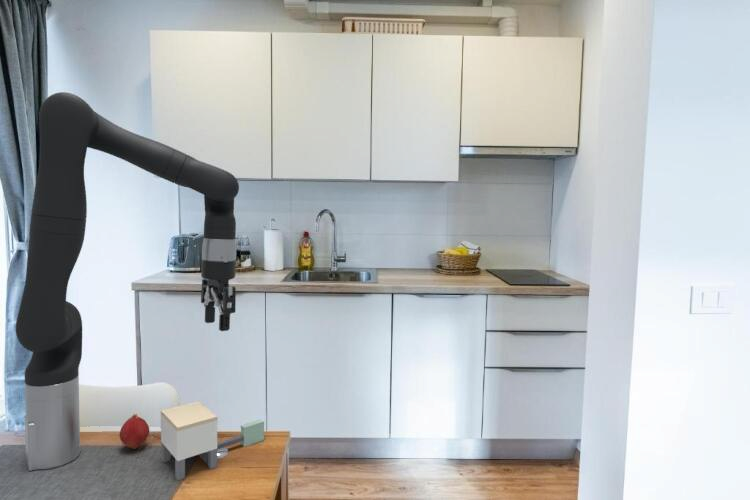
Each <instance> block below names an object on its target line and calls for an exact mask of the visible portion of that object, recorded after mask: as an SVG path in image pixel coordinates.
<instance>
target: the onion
mask: <svg viewBox="0 0 750 500" xmlns="http://www.w3.org/2000/svg"><path fill="white" fill-rule="evenodd" d="M149 435H150V427H149V424H148V423H147V421H146V420H145V419H144V418H142V417H140V416H138V413H133V414H132V416H131V417H129V418H128V419H126V421H125V422H124V423H123V425H122V426H121V428H120V431H119V440H120V441H121V443H122V444H123V446H126V447H128V448H131V449H132V450H137V449H138V448H139V447H140V446H141V445H142V444H143V443H144V442H145V441H146V440H147V439H148V437H149Z"/></svg>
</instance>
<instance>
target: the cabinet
mask: <svg viewBox="0 0 750 500" xmlns="http://www.w3.org/2000/svg"><path fill="white" fill-rule="evenodd" d="M160 442H161V443H160V447H161V449H160V456H161V458H160V460H161V461H162V462H163V463H166V462H169V461H171V455H172V456H173V457H174V459H175V460H174V469H175V472H174V474H175V475H174V478H175V480H177V482H179V481H181V480H184V479H185V478H186V459H188V458H192V457H195V456H199V455H198V454H201V453H205V452H208V464H207V467H208V468H209V469H210V470H213V469H216V468H217V467H218V459H217V442H218V416H217V414H215V413H214V412H212V411H211V410H210V409H209V408H208V407H206V406H205V404H203V403H201V402H200V400H199V401H194V402H190V403H186V404H182V405H178V406H177V405H176V406H173V407H170V408H165V409H161V410H160Z"/></svg>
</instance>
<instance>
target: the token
mask: <svg viewBox="0 0 750 500" xmlns="http://www.w3.org/2000/svg"><path fill="white" fill-rule="evenodd" d="M228 454H229V449H228V448H227V447H224V448H221V449H218V450H217V460H219V459H221V460H222V459H223V458H226V457H227V456H228Z"/></svg>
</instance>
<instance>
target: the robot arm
mask: <svg viewBox="0 0 750 500" xmlns="http://www.w3.org/2000/svg"><path fill="white" fill-rule="evenodd" d="M38 121H39V125H38V126H39V165H38V169H37V170H38V171H37V176H36V181H35V186H34V192H33V200H32V206H31V212H30V214H31V215H30V223H29V237H28V248H27V249H28V250H27V258H26V273H25V281H24V287H23V292H22V297H21V301H20V305H19V307H18V308H19V309H18V313H17V317H16V323H15V334H16V338H17V340H18V342H19V344H20V345H21V346H22V347H23V348H24V349H25V350H27V351H29V352H31V354H32V355H31V358H30V361H29V362H28V364H27V366H26V367H25V370H24V397H25V398H24V400H25V402H24V403H25V414H24V435H25V436H24V437H25V440H24V441H25V444H24V446H25V460H26V464H27V465H26V466H27V469H28V471H29V472H30V471H35V470H47V469H53V468H57V467H60V466H63V465H66V464H68V463H70V462H72V461H74V460H75V459H77V458H78V457H79V455H80V454H81V428H80V425H81V423H80V417H81V416H80V386H79V385H80V380H79V379H80V378H79V377H80V375H79V373H80V372H79V367H80V364H81V361H82V357H83V356H82V355H83V320H82V316H81V315H82V314H81V313H80V311H79V309H78V308H77V306H75V305H74V304H73V303H71V302H69V301H67V292H68V285H69V281H70V278H71V275H72V273H73V270H74V267H75V266H76V263H77V261H78V258H79V256H80V254H81V251H82V248H83V244H84V240H85V236H86V225H87V216H88V215H87V214H88V212H87V211H88V210H87V209H88V207H87V205H88V203H87V191H86V184H85V183H86V181H85V162H86V156H87V151H88V148H89V149H92V150H97V151H100V152H102V153H105V154H109V155H111V156H113V157H116V158H119V159H121V160H123V161H125V162H127V163H130V164H131V165H134V166H136V167H137V168H140V169H142V170H144V171H146V172H147V173H150V174H152V175H154V176H157V177H159V178H161V179H163V180H166V181H168V182H170V183H172V184H174V185H176V186H177V185H178V186H181V187H183V188H189V189H191V190H192V191H193V190H194V191H195V192H198V193H199V194H202V195H203V199H204V202H203V203H204V213H205V214H204V220H203V221H204V222H203V241H202V245H201V246H202V247H201V271H200V272H201V278H202V280H201V292H200V293H201V295H200V296H201V297H200V303H201V304H203V307H204V323H206V324H212V323H215V321H216V307H217V309H218V311H219V315H218V316H219V317H218V319H219V320H218V322H219V323H218V324H219V325H218V331H221V332H225V331H229V330H230V329H231V328H230V327H231V326H230V325H231V324H230V323H231V321H230V320H231V314H235V313H236V303H237V302H236V300H237V299H236V295H237V294H236V291H237V290H236V286H230V283H229V281H230V280H233V279H235V278H236V262H237V261H236V260H237V259H236V258H237V246H236V245H237V244H236V243H237V242H236V231H237V229H236V228H237V224H236V217H235V213H234V212H235V198H236V197H237V195H239V194H238V193H239V191H240V185H239V181H238V179H237V178H236V176H235V175H234V174H232V173H231V172H229V171H227V170H225V169H222V168H221V167H220V168H219V167H218V166H215V165H213V164H209V163H207V162H204V161H201V160H198V159H196V158H194V157H193V156H191V155H190V154H187V153H185V152H183V151H180V150H178V149H175V148H174V147H171V146H169V145H167V144H165V143H163V142H160V141H157V140H154V139H151V138H149V137H145V136H142V135H140V134H137V133H134V132H132V131H129V130H128V129H126V128H124V127H120V126H119V125H117V124H115V122H112V121H110V120H108V119H106V118H105V117H104V116H102V115H100V114H99V113H98V112H96V111H94V109H93V108H92V107H91V106H90V104H89V103H87V101H85V100H84V99H83V98H82V97H79V96H78V95H76V94H74V93H71V92H62V91H61V92H57V93H56V92H55V93H53V94H51V95H49V96H48V97H47V98H45V99H44V101H43V102H42V104H41V106H40V108H39V115H38Z"/></svg>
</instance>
